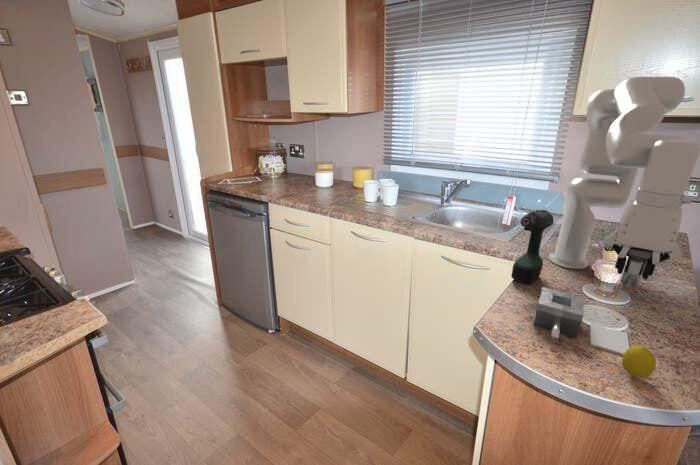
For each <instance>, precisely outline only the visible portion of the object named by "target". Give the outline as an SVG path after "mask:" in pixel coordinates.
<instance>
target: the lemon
mask: <svg viewBox="0 0 700 465" xmlns="http://www.w3.org/2000/svg"><path fill="white" fill-rule="evenodd" d="M629 347H630V348H629V349H627V351H626V352H625V353H624V355H622V358H621V363H622V367H623V369H624V371H625V372H626V373H628V374H629V375H630V376H631V377H632V378H639V379H645V378H647V377H650V376H651V375H652V374H653V373H654V372H655V369H656V366H657V359H656V356H655V353H653V351H651V350H650V349H649V348H647V347H646V346H642V345H633V346H629Z"/></svg>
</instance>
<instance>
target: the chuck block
mask: <svg viewBox="0 0 700 465" xmlns="http://www.w3.org/2000/svg"><path fill="white" fill-rule="evenodd" d="M584 303H585V297H583V296H579V295H575V294H572V293H568V292H563V291H559V290H556V289H551V288H548V287H545V286H542V288H541V292H540V296H539V299H538V304H537V308H536V313H535V316H534V321H533V325H532V326H533V327H537V328H539V329H543V330H547V331H550V332H551V335H550V338H551V340H552V341H555V342H556V341H559V339H560V335H563V336H565V337H569V338H572V339H575V340H576V339H577V337H578V334H579V331H580V328H581V325H582V321H583V319H584V312H585V308H584V307H585V306H584V305H585V304H584Z"/></svg>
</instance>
